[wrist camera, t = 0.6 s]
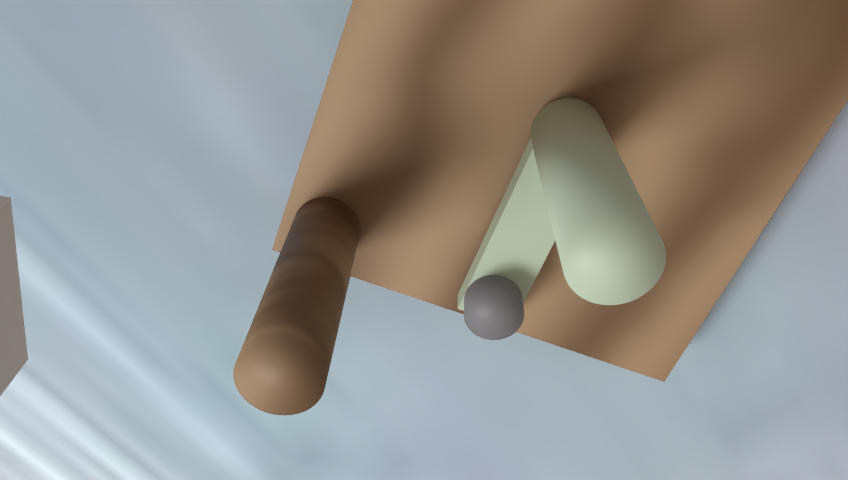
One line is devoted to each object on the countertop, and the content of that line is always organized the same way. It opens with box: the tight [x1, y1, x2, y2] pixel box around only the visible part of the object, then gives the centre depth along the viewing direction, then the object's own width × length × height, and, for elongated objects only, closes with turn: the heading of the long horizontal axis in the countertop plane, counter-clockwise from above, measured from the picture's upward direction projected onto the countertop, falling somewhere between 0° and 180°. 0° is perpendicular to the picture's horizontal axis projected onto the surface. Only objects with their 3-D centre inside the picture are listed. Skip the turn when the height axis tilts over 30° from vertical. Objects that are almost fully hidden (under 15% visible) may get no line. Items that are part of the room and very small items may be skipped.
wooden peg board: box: [234, 0, 848, 415], centre depth 29 cm, size 20×24×14 cm
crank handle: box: [458, 98, 666, 340], centre depth 30 cm, size 11×3×11 cm, turn 159°
